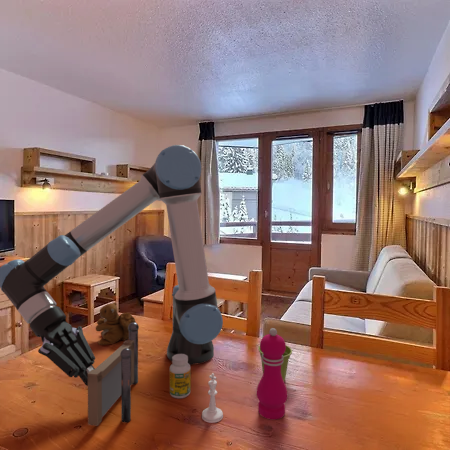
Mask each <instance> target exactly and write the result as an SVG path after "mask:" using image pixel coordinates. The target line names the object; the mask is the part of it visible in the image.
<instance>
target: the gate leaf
mask: <svg viewBox="0 0 450 450" xmlns="http://www.w3.org/2000/svg"><path fill="white" fill-rule="evenodd" d="M125 348H129V349H130V350H131V352H132V354H131V386H133V385H132V384H133V383H134V341H133V340H129V339H127V340H124V341H123V343H122V344H121V346H119V347H118V348H117V349H116V350H115V351H113V352H112V353H111V354H110V355H109V356H108V357H107V358H106V359H105V360H103V361H102V362H100V363H99V364H98V365H97V366H96V367H94V368H95V369H94V370H91V371H90V372H89V373H88V386H87V426H96V427H98V426H100V424H101V422H102V421H103V417H104V416H105V415H106V414H107V412H109V410H110V409H111V408H112V407H113V405H115V403H116V402H117V400H118V399H120V397H121V356H120V353H121V351H122V350H123V349H125Z"/></svg>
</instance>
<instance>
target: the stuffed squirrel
mask: <svg viewBox="0 0 450 450" xmlns="http://www.w3.org/2000/svg"><path fill="white" fill-rule="evenodd" d="M99 317H100V318H99V319H98V320H97V321H96V323H97V325H96V326H95V331H96V332H100V335H101V336H102V338H100V340H99V341H97V343H98V345H99V346H105V345H113V344H115V343H117V342H119V341H120V340H121V341H126V340H129V330H128V326H129V324H130V323H132V322H135V323H137V322H136V319H135V317H133V315H132V314H131V313H130V312H123V313H121V314H120V315H119V314H118V307H117V302H112V303H107V304H105V305H103V306H102V307H101V308H100V309H99Z"/></svg>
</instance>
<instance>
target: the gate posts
mask: <svg viewBox="0 0 450 450" xmlns="http://www.w3.org/2000/svg"><path fill="white" fill-rule="evenodd" d="M139 327H140V325H139V324H138V323H137V322H136V323H135V322H132V323H130V324H129V326H128V330H129V339H128V340H133V341H134V383H133V384H132V385H131V354H132V352H131V350H130V349H129V348H125V349H123V350H122V351H121V353H120V356H121V396H120V397H121V401H120V404H121V407H120V409H121V414H120V415H121V417H120V418H121V420H120V421H121V423H123V424H126V423H129V422H130V421H131V420H132V419H131V418H132V417H131V415H132V414H131V412H132V410H131V409H132V406H131V405H132V402H131V398H132V393H131V391H132V390H131V388H132V387H131V386H133V385H137V384H138V382H139V329H140V328H139Z"/></svg>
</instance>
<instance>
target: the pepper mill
mask: <svg viewBox="0 0 450 450" xmlns="http://www.w3.org/2000/svg"><path fill="white" fill-rule="evenodd" d="M268 332H269V334H265V335H264V336H263V337H262V338H261V340H260V343H259V346H260V349H261V351H262V353H263V354H262V361H261V363H262V362H263V363H264V372H263V371H262V376H261V378H260V380H259V382H258V385H257V387H256V398H257V400H258V405H257V406H258V407H257V410H258V413H259V415H260V416H261V417H263V418H265V419H267V420H273V421H274V420H280V419H282V418H283V417H284V416H285V415H286V404H285V403H286V401H287V400H288V390H287V389H288V388H287V386H286V384H285V381H283V378H282V375H281V364H283V358H284V357H283V354H284V353H285V350H286V342H285V341H286V340H285V339H284V338H283V337H282V336H281V335H279V334H278V331H277V329H276V328H274V327H271V328H270V330H269V331H268Z"/></svg>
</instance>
